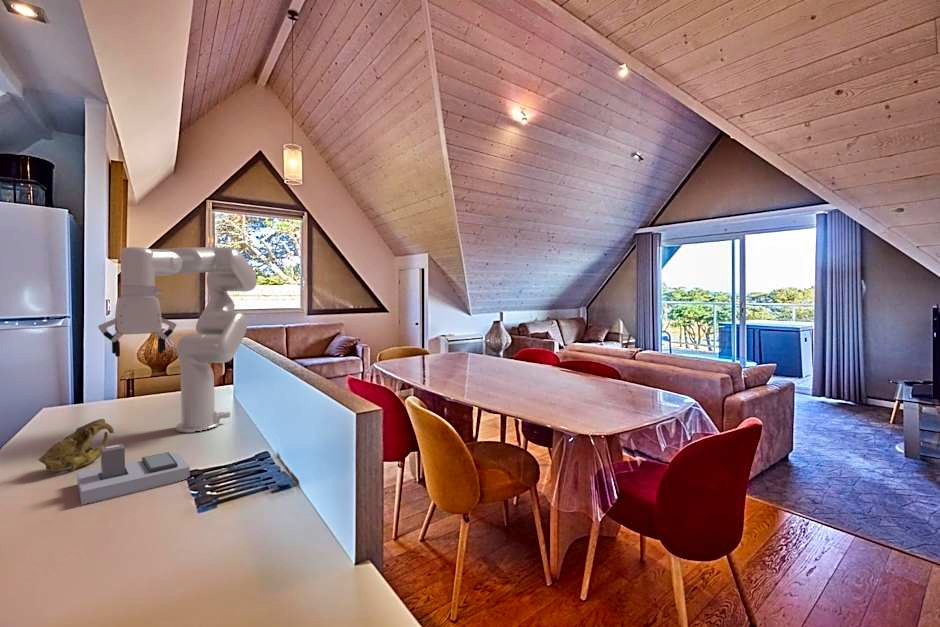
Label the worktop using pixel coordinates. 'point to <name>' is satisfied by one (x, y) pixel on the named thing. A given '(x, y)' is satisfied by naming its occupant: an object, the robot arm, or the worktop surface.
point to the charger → (112, 461)
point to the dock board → (133, 477)
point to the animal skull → (76, 447)
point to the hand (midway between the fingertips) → (139, 354)
